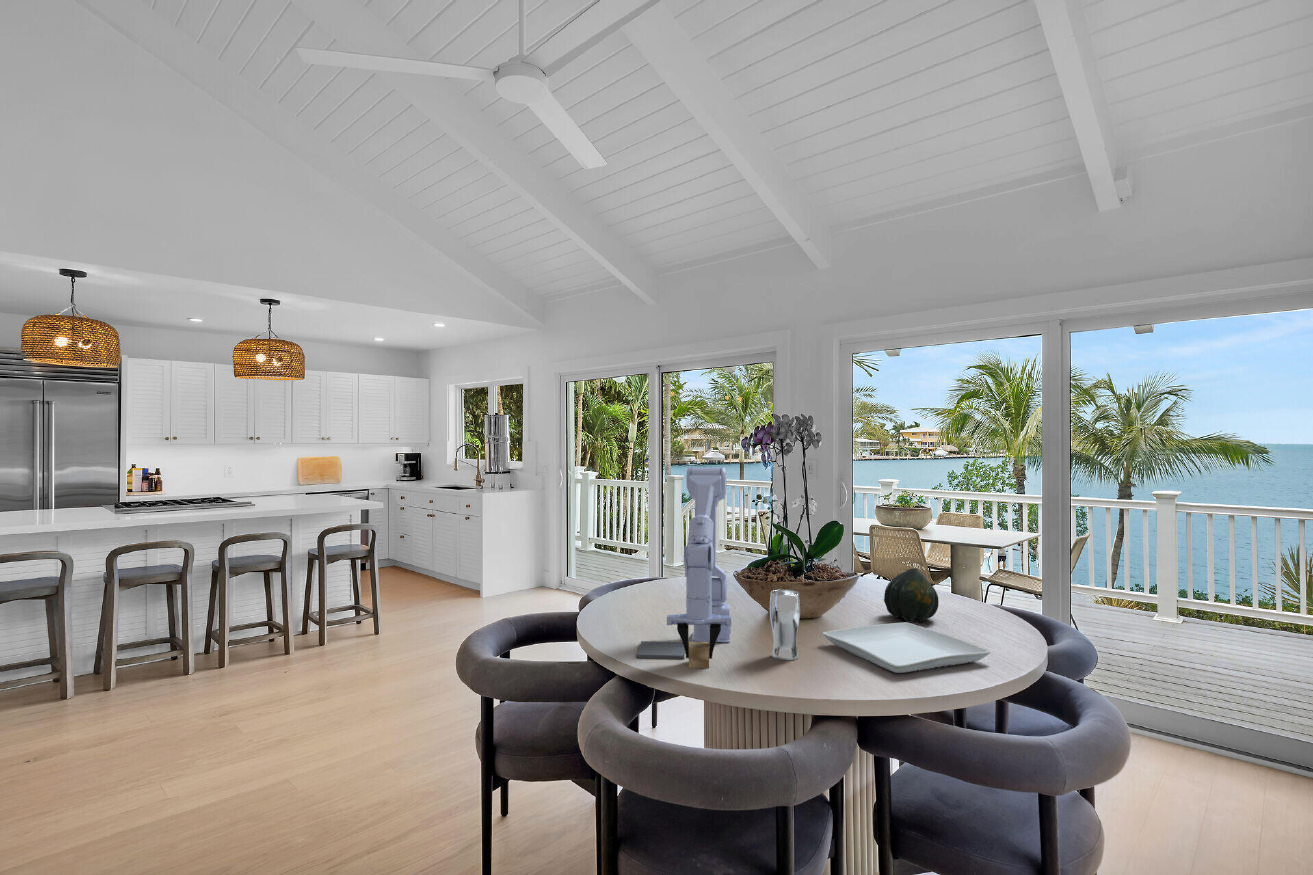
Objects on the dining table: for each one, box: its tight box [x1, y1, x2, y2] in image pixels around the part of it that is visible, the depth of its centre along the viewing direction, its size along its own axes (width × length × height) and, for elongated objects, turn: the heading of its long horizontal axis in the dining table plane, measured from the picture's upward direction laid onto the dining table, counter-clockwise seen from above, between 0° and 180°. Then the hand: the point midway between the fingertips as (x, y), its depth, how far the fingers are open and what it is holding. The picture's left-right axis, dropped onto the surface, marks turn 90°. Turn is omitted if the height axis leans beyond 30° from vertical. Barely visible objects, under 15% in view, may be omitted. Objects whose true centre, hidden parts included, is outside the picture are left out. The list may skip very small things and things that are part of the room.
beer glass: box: [769, 589, 801, 662], centre depth 156 cm, size 7×7×15 cm
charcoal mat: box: [636, 640, 686, 660], centre depth 160 cm, size 11×11×1 cm
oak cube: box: [688, 640, 710, 669], centre depth 150 cm, size 4×4×4 cm
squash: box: [883, 567, 939, 623], centre depth 190 cm, size 14×15×15 cm
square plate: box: [822, 621, 991, 674], centre depth 157 cm, size 27×27×4 cm
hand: (699, 657), depth 150 cm, fingers closed on oak cube, 4 cm apart
